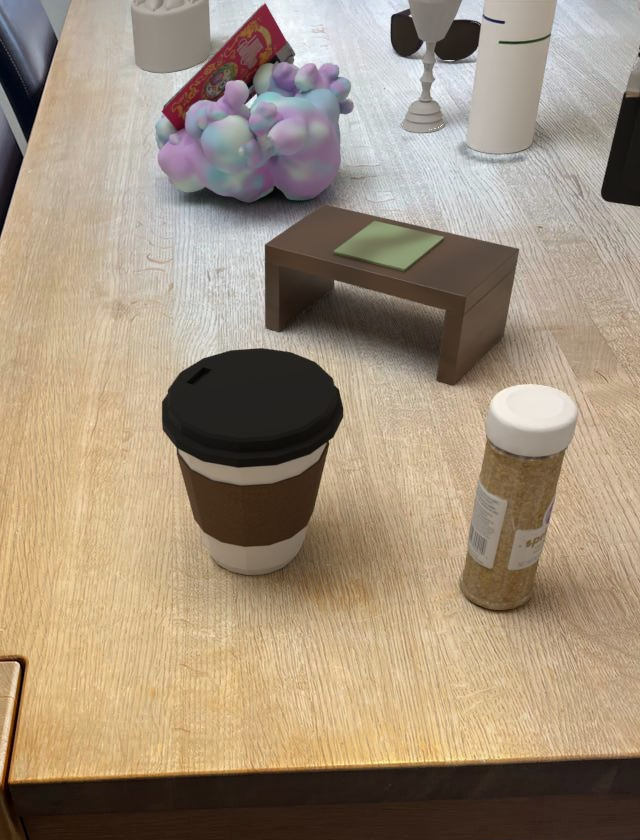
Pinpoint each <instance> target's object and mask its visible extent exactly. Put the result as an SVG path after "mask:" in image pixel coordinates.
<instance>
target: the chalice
mask: <svg viewBox="0 0 640 840" xmlns="http://www.w3.org/2000/svg"><path fill="white" fill-rule="evenodd" d="M407 2H408V6H409V8H410V12H411V15H410V17H412V19H413V22H414V25H415V28H416V31H417V34H418V37H419V39H421V40H423V41H424V43H425V48H426V49H425V54H424V56H423V59H422V60H421V62H422V64H423V72H422V76H421V77H420V78H419V81H420V83H421V94H420V96H419V97H418V100H414V101H413V102H412V103H411V104H410V105H409V106H408V108H407V111H406V113H405V115H404V118H403V120H402V122H401V124H400V127H401V129H404V130H405V131H408V132H410V133H411V132H412V133H421V134H422V133H432V132H437V131H439V130H442V129H443V128H445V125H446V122H445V120H444V118H443V116H444V115H443V113H442V107H441V105H440V104H439V102H438V101H436V100H434V99H433V97H432V96H431V89H432V86H433V83H434V82H435V81H436V78H435V77H434V75H433V74H434V73H433V69H434V67H435V64H436V63H437V58H436V57H435V55H436V54H435V52H434V49H435V45H436V42H437V41H440V40H442V39H443V38H444V37H445V35H446V33H447V32H448V30H449V28H450V26H451V24H452V22H453V20H455V18H456V16H457V15H458V12H459V9H460V7H461V4H462V2H463V0H407ZM402 124H403V125H402ZM442 124H444V125H442ZM441 125H442V126H441ZM440 126H441V127H440ZM438 127H439V128H438ZM434 128H436V129H434ZM429 129H430V130H429ZM431 129H432V130H431Z"/></svg>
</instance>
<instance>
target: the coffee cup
mask: <svg viewBox="0 0 640 840" xmlns="http://www.w3.org/2000/svg"><path fill="white" fill-rule="evenodd" d="M343 419H344V405H343V400H342V396H341V391H340V388H338V387H337V386H336V384H335V381H334V377H332V376H331V374H329V373H328V372H327V371H326V370H324V368H322V366H321V365H320V364H319V363H317V362H316V361H314V360H311V359H308V358H307V357H304V356H302V355H299V354H297V353H294V352H291V351H286V350H279V349H272V348H271V349H270V348H263V347H255V348H244V349H243V348H242V349H230V350H227V351H223V352H220V353H217V354H213V355H210V356H206V357H203V358H201V359H199V360H198V361H195V362H194V363H192V364H191V365H190V366H188V367H187V368H185V369H183V370H181V371H180V372H179V373H178V375H177V376H176V377H175V379H174V380H173V382H172V383H171V385H170V386H169V387H168V389H167V393H166V395H165V397H163V399H162V400H161V426H162V427H161V428H162V431H163V432H164V433H165V434H164V435H166V436H167V438H168V439H169V440H170V441H171V443H172V444H173V446H174V447H175V449H176V457H177V461H178V464H179V468H180V471H181V475H182V479H183V482H184V487H185V490H186V495H187V498H188V501H189V505H190V508H191V512H192V516H193V519H194V521H195V523H197V525H198V528H199V531H200V535H201V539H202V543H203V546H204V548H205V549H206V551H207V552H208V553H209V554H210V556H211V558H212V559H213V560H214V562H215V563H216V564H217V565H218V566H220V567H222V568H223V569H225V570H227V571H229V572H230V573H235V574H239V575H244V576H258V575H268V574H270V573H273V572H275V571H276V572H277V571H279V570H282V569H283V568H284V567H285V566H287V565H288V564H290V563H291V562H292V561H293V560H294V559H295V558H296V556H297V554H298V553H299V551H300V549H301V547H302V545H303V543H304V541H305V538H306V533H307V529H308V525H309V522H310V520H311V518H312V516H313V514H314V512H315V508H316V503H317V499H318V494H319V492H320V491H319V490H320V487H321V482H322V478H323V473H324V468H325V464H326V460H327V457H328V456H327V455H328V453H329V447H330V441H331V440H332V439H333V438H334V437H335V435H336V433H337V432H338V429H339V427H340V425H341V423H342V421H343Z"/></svg>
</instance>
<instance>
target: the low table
mask: <svg viewBox="0 0 640 840" xmlns="http://www.w3.org/2000/svg"><path fill="white" fill-rule="evenodd" d="M519 254H520V248H518V247H514V246H508V245H504V244H499V243H496V242H492V241H488V240H482V239H478V238H474V237H469V236H465V235H461V234H457V233H452V232H448V231H443V230H438V229H434V228H430V227H425V226H422V225H417V224H412V223H408V222H403V221H399V220H396V219H390V218H387V217H381V216H377V215H374V214H368V213H364V212H360V211H356V210H351V209H346V208H342V207H339V206H333V205H329V204H324V203H323V204H321V205H320V206H318V207H317V208H315V209H314V210H313V211H311V212H310V213H308V214H306V215H305V216H304V217H302V218H301V219H300V220H298V221H297V222H295V223H294V224H292V225H291V226H289V227H287V228H286V229H285V230H283V231H282V232H281V233H279V234H278V235H275V237H274V238H272V239H270V240H269V241H267V242H266V243H265V244H264V328H266V329H269V330H272V331H275V332H277V333H279V332H281V331H282V330H283V329H284V328H286V327H287V326H288V325H290V324H291V323H292V322H293V321H296V319H298V318H299V317H300V316H301V315H303V314H304V313H305V312H307V311H308V310H309V309H311V308H312V307H313V306H314V305H316V304H317V303H318V302H319V301H321V300H323V298H325V297H326V296H328V295H329V294H330V293H331V292H332V291H334V289H335V281H336V282H339V283H342V284H346V285H350V286H354V287H358V288H362V289H366V290H369V291H373V292H376V293H381V294H385V295H387V296H392V297H395V298H399V299H403V300H406V301H410V302H413V303H417V304H422V305H425V306H429V307H432V308H435V309H439V310H443V311H444V317H443V318H444V319H443V326H442V333H441V341H440V348H439V349H440V350H439V356H438V364H437V371H436V381H437V382H440V383H444V384H447V385H451V386H454V385H455V384H456V383H457V382H458V381H459V380H460V379H461V378H462V377H463V376H464V375H465V374H466V373H467V372H468V371H470V369H471V368H472V367H474V365H476V364H477V362H479V361H480V360H481V359H482V358H483V357H484V356H485V355H486V354H487V353H488V352H489V351H490V350H491V349H492V348H493V347H494V346H495V345H496V344H497V343H498V342H499V341H501V340H502V338H503V337H504V335H505V333H506V332H505V331H506V327H507V320H508V315H509V309H510V304H511V297H512V293H513V287H514V281H515V277H516V270H517V264H518V260H519Z"/></svg>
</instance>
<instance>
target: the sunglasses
mask: <svg viewBox="0 0 640 840" xmlns="http://www.w3.org/2000/svg"><path fill="white" fill-rule="evenodd" d="M480 30H481V22H479V21H477V20H474V19H466V18H465V19H464V18H463V19H461V18H459V19H454V20H453V22H452V24H451V26H450V28H449V30H448V32H447V33H446V35H445V37H444V38H443V39H442V40H440V41H437V42H436V45H435V49H434V53H435V55H436V57H437V58H438V59H440V61H443V60H455V61H454V62H458V61H462V60H464V59H467V58H469V57H470V56H472V55H473V54H474V53H475V52H476V51H477V50H478V45H479V37H480ZM389 32H390V33H389V34H390V36H389V37H390V43H391V47H392V49H393V50H394V52H395V54H397V55H399V56H401V57H405V58H407V57H411V56H413V55H414V54H416V53H417V52H418V51H419V50H420V49H421V48H422V46H423V44H424V43H425V41H423V40H421V39H419V37H418V34H417V31H416V28H415V25H414V22H413V19H412V16H411V12H410V7H409V8H407V9H403V10H401V11H399V12H396V13H393V14H391V16H390V30H389Z"/></svg>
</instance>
